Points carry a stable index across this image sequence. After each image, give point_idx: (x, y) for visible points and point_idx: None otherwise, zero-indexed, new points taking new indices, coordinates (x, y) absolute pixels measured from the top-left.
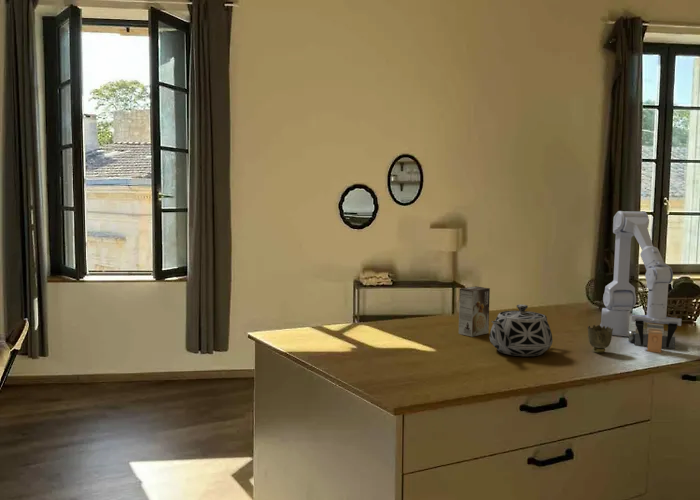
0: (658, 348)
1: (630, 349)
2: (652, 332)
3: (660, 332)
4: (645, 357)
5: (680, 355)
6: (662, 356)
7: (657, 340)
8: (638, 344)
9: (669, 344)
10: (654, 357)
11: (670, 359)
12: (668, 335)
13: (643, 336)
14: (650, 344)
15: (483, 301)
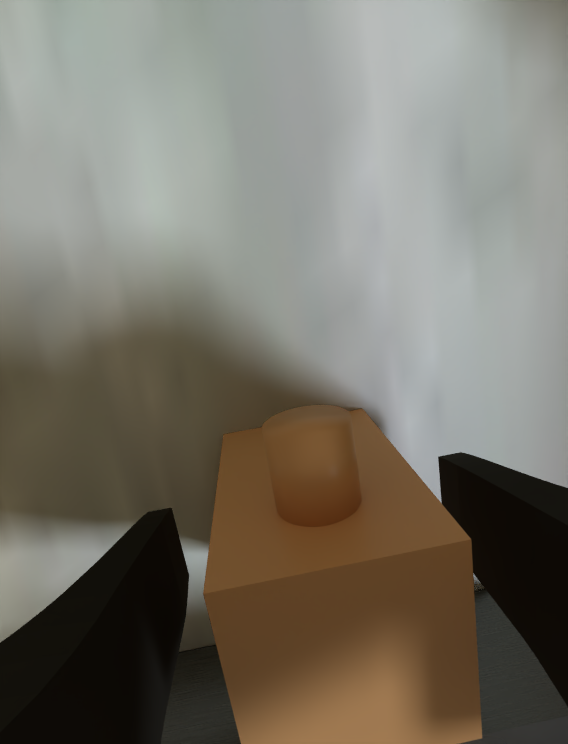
0: (253, 445)
1: (531, 376)
2: (402, 617)
3: (265, 709)
4: (338, 38)
5: (10, 432)
6: (168, 244)
7: (266, 428)
8: (475, 601)
9: (183, 691)
10: (240, 117)
11: (43, 128)
12: (88, 616)
13: (482, 695)
14: (356, 447)
15: None
